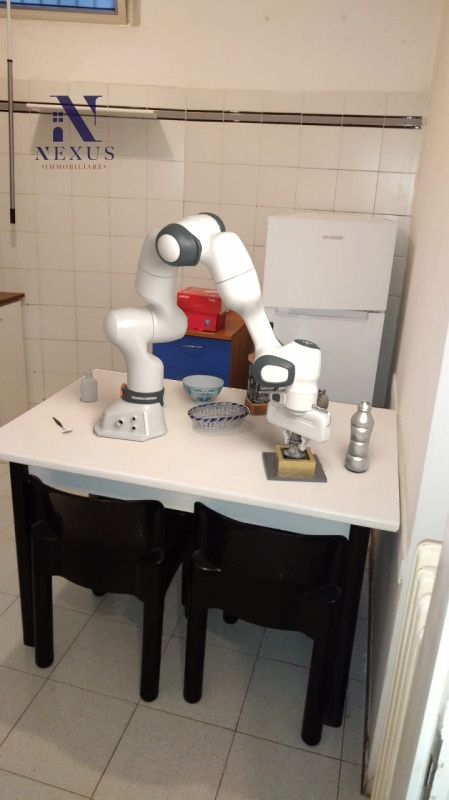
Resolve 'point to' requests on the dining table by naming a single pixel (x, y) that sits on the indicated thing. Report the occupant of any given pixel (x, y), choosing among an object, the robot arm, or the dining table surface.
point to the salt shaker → (294, 448)
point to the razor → (60, 425)
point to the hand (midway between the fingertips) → (295, 446)
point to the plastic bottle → (360, 438)
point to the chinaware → (202, 388)
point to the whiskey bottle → (257, 391)
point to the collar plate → (293, 466)
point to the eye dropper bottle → (89, 387)
